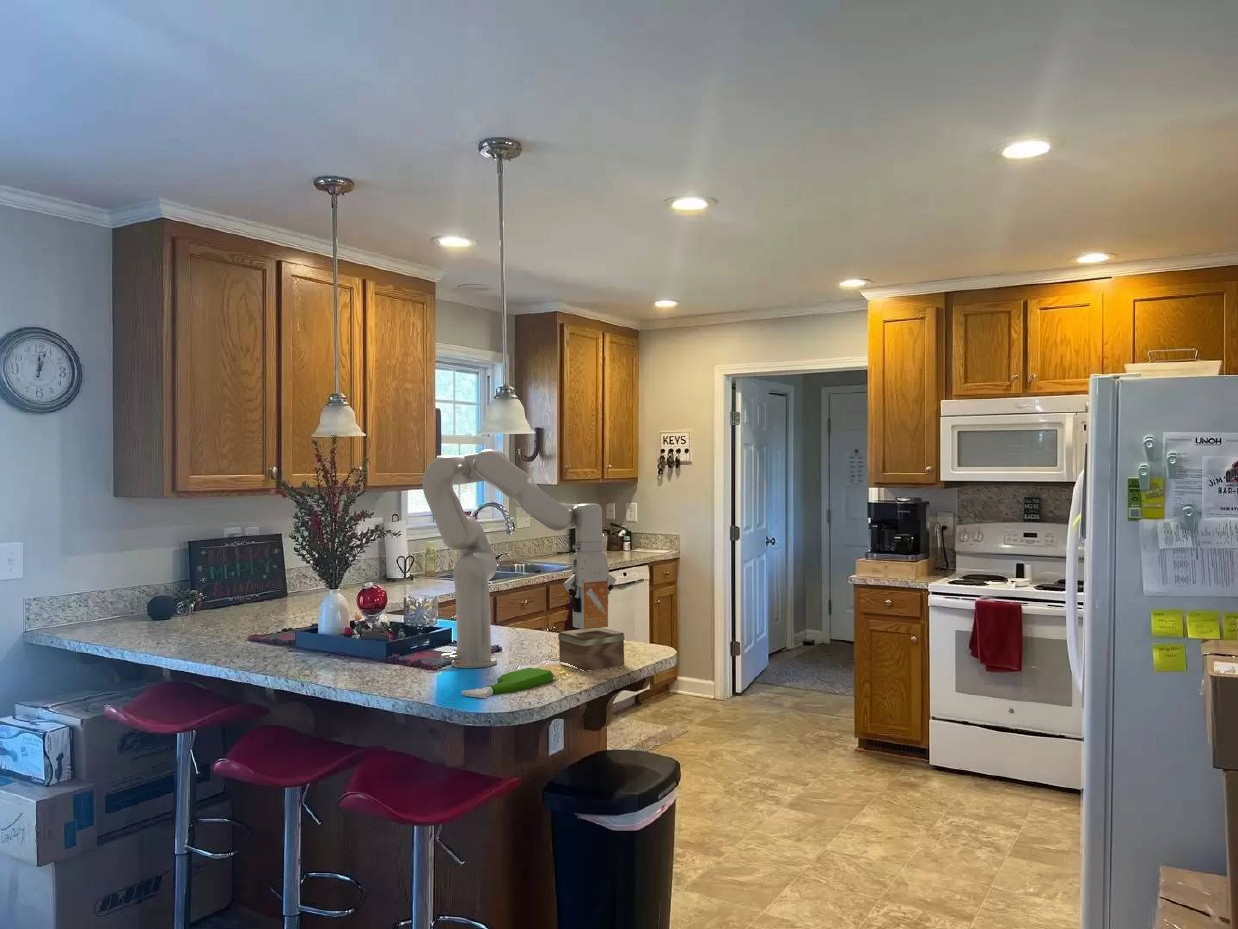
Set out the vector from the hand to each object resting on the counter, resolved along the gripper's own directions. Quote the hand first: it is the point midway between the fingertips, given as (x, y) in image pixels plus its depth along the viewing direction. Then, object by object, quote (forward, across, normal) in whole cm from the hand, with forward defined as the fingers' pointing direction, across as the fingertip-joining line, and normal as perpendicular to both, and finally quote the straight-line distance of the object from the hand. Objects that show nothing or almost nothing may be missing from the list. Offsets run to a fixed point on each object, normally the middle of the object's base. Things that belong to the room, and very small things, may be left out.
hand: (590, 610), depth 252 cm
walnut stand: (+15, 0, 0) cm, 15 cm away
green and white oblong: (+16, -31, -10) cm, 37 cm away
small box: (+5, 0, 0) cm, 5 cm away
